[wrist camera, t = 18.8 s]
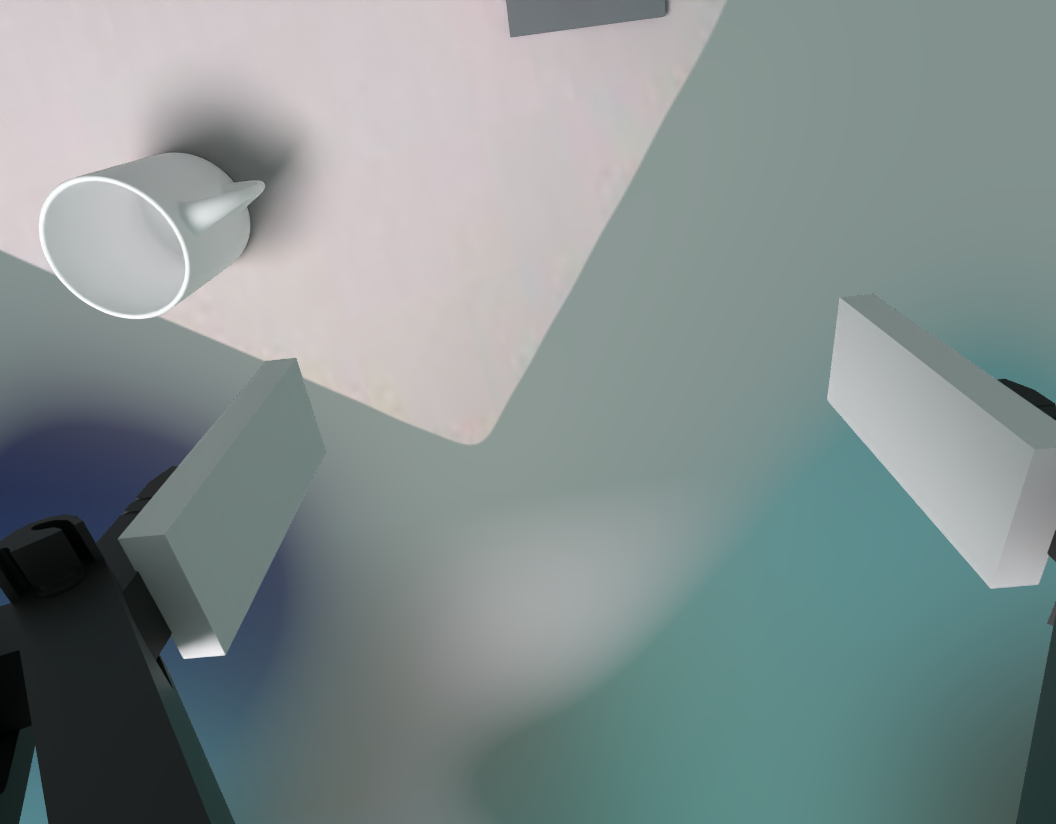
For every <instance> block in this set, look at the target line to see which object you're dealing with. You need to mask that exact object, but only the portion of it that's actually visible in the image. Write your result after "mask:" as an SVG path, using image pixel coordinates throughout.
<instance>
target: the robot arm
mask: <svg viewBox="0 0 1056 824" xmlns="http://www.w3.org/2000/svg"><path fill="white" fill-rule="evenodd" d="M827 400H828V401H829V403H830V404H831V405H832V406H833V407H834V409H836V411H837V412H838V413H839V414H840V415H841V417H842V418H843V419H844V420H845V421H846V422H847V424H848V425H849V426H850V427H851V428H852V429H853V430H854V432H855V433H856V434H857V435H858V436H859V437H860V438H861V440H862V441H863V442H864V443H865V444H866V445H867V447H869V449H870V450H871V451H872V452H873V453H874V455H875V456H876V457H877V458H878V459H879V460H880V462H881V463H882V464H883V465H884V466H885V467H886V468H887V470H888V471H889V472H890V473H891V474H892V475H893V477H894V478H895V479H896V480H897V481H898V482H899V483H900V485H901V486H902V487H903V488H904V489H905V490H906V491H907V493H908V494H909V495H910V496H911V497H912V498H913V500H914V501H915V502H916V503H917V504H918V505H919V506H920V508H921V509H922V510H923V511H924V512H925V513H926V515H927V516H928V517H929V518H930V519H931V520H932V521H933V523H934V524H935V525H936V526H937V527H938V528H939V529H940V531H941V532H942V533H943V534H944V535H945V536H946V538H948V540H949V541H950V542H951V543H952V545H953V546H954V547H955V548H956V549H957V550H958V551H959V553H960V554H961V555H962V556H963V557H964V558H965V560H966V561H967V562H968V563H969V564H970V565H971V566H972V568H973V569H974V570H975V571H976V572H977V573H978V574H979V576H980V577H981V578H982V579H983V580H984V581H985V582H986V584H987V585H988V586H989V587H990V588H1003V587H1015V586H1027V585H1038V584H1039V581H1040V579H1041V576H1042V573H1043V571H1044V568H1045V565H1046V562H1047V560H1048V557H1049V556H1050V557H1051V558H1052V559H1053V560H1055V561H1056V406H1055V403H1053V402H1052V401H1050V400H1049V399H1047V398H1046V397H1044V396H1043V395H1041V394H1040V393H1038V392H1037V391H1035V390H1033V389H1031V388H1028V387H1025V386H1023V385H1020V384H1017V383H1015V382H1012V381H1009V380H1007V379H999V380H997V379H995V378H994V377H992V376H991V375H989V374H988V373H986V372H985V371H983V370H982V369H981V368H979V367H978V366H976V365H975V364H974V363H972V362H971V361H969V360H968V359H966V358H965V357H963V356H962V355H961V354H959V353H958V352H956V351H955V350H953V349H952V348H951V347H949V346H948V345H946V344H945V343H943V342H942V341H940V340H939V339H938V338H936V337H935V336H933V335H931V334H930V333H929V332H928V331H926V330H925V329H923V328H922V327H920V326H919V325H917V324H916V323H915V322H913V321H912V320H910V319H909V318H907V317H906V316H904V315H903V314H902V313H900V312H899V311H897V310H896V309H894V308H893V307H892V306H890V305H888V304H887V303H886V302H884V301H883V300H881V299H880V298H879V297H877V296H876V295H874V294H866V295H857V296H849V297H840V300H839V308H838V316H837V324H836V332H835V341H834V349H833V357H832V365H831V373H830V381H829V389H828V397H827ZM325 453H326V450H325V446H324V443H323V440H322V437H321V434H320V431H319V428H318V425H317V421H316V418H315V415H314V412H313V409H312V406H311V403H310V400H309V397H308V393H307V391H306V387H305V384H304V381H303V378H302V375H301V372H300V368H299V365H298V362H297V359H296V358H290V359H281V360H272V361H266V362H265V363H264V364H263V365H262V366H261V368H260V369H259V370H258V371H257V372H256V374H255V375H254V376H253V377H252V378H251V380H250V381H249V382H248V383H247V385H246V386H245V387H244V388H243V389H242V390H241V392H240V393H239V394H238V395H237V396H236V398H235V399H234V400H233V401H232V402H231V404H230V405H229V406H228V407H227V408H226V410H225V411H224V412H223V413H222V414H221V416H220V417H219V418H218V419H217V421H216V422H215V423H214V424H213V425H212V426H211V428H210V429H209V430H208V431H207V432H206V434H205V435H204V436H203V437H202V438H201V440H200V441H199V442H198V443H197V444H196V446H195V447H194V448H193V449H192V450H191V452H190V453H189V454H188V455H187V456H186V458H185V459H184V460H183V461H182V462H181V464H180V465H179V466H173V467H170V468H169V469H168V470H166V471H165V472H163V473H162V474H160V475H159V476H157V477H156V478H155V479H153V480H152V481H150V482H149V483H148V484H147V486H146V487H145V488H144V489H143V490H142V491H141V492H140V494H139V495H138V496H137V497H136V498H135V502H132V503H131V504H130V505H129V506H128V507H127V508H126V510H125V511H124V515H122V516H119V518H118V519H117V520H116V521H115V522H114V524H113V525H112V526H111V527H110V528H109V529H108V530H107V531H106V533H105V534H104V535H103V536H102V537H101V538H100V540H99V541H98V542H97V543H95V541H94V540H93V538H92V536H91V535H90V533H89V531H88V529H87V527H86V526H85V524H84V522H83V521H82V520H81V519H80V518H79V517H78V516H72V515H60V516H53V517H48V518H45V519H43V520H39V521H36V522H33V523H30V524H29V525H26V526H24V527H22V528H21V529H19V530H16V531H14V532H13V533H11V534H10V535H8V536H7V537H5V538H4V539H3V540H1V541H0V588H1V589H2V590H3V592H4V593H5V595H6V596H7V597H8V599H9V600H10V602H11V603H10V604H7V605H3V606H0V824H19V821H20V816H21V811H22V806H23V802H24V797H25V791H26V787H27V782H28V777H29V772H30V768H31V763H32V758H33V753H34V748H35V746H36V751H37V757H38V764H39V770H40V775H41V782H42V787H43V793H44V799H45V805H46V811H47V817H48V823H49V824H235V822H234V820H233V817H232V815H231V813H230V811H229V808H228V806H227V804H226V801H225V799H224V797H223V795H222V792H221V790H220V788H219V785H218V783H217V781H216V779H215V776H214V774H213V772H212V769H211V767H210V765H209V762H208V760H207V758H206V756H205V753H204V751H203V749H202V747H201V744H200V742H199V739H198V737H197V735H196V733H195V730H194V728H193V726H192V724H191V721H190V719H189V717H188V714H187V712H186V710H185V707H184V705H183V703H182V701H181V698H180V696H179V694H178V691H177V689H176V687H175V684H174V682H173V680H172V678H171V675H170V673H169V671H168V668H167V666H166V665H165V663H164V661H163V659H162V658H161V656H160V652H161V651H162V649H163V647H164V645H165V644H166V643H167V641H168V639H169V638H170V636H172V638H173V640H174V642H175V644H176V645H177V647H178V649H179V651H180V653H181V655H182V656H183V658H184V659H186V658H197V657H209V656H221V655H226V653H227V651H228V649H229V647H230V645H231V643H232V641H233V639H234V637H235V635H236V633H237V631H238V629H239V627H240V625H241V623H242V621H243V619H244V617H245V615H246V613H247V611H248V609H249V607H250V605H251V602H252V600H253V599H254V596H255V595H256V592H257V590H258V588H259V586H260V584H261V582H262V580H263V578H264V576H265V574H266V572H267V570H268V568H269V566H270V564H271V562H272V560H273V558H274V556H275V554H276V552H277V550H278V548H279V546H280V544H281V542H282V540H283V538H284V536H285V534H286V532H287V530H288V528H289V526H290V524H291V522H292V520H293V518H294V516H295V514H296V511H297V510H298V508H299V505H300V504H301V501H302V499H303V498H304V495H305V493H306V491H307V489H308V487H309V485H310V483H311V481H312V479H313V477H314V475H315V473H316V471H317V469H318V467H319V465H320V463H321V461H322V459H323V457H324V455H325ZM1047 624H1050V625H1053V632H1052V637H1051V642H1050V647H1049V653H1048V657H1047V663H1046V668H1045V673H1044V679H1043V684H1042V689H1041V694H1040V700H1039V705H1038V710H1037V715H1036V720H1035V726H1034V731H1033V736H1032V742H1031V747H1030V753H1029V757H1028V763H1027V768H1026V773H1025V778H1024V784H1023V789H1022V794H1021V800H1020V805H1019V810H1018V815H1017V821H1016V824H1056V602H1055V605H1054V608H1053V610H1052V613H1051V615H1050V618H1049V620H1048V623H1047Z"/></svg>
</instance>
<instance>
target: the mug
mask: <svg viewBox="0 0 1056 824" xmlns="http://www.w3.org/2000/svg"><path fill="white" fill-rule="evenodd" d="M264 189H265V184H264V183H263V182H262V181H259V180H251V181H243V182H236V183H234V182H233V181H232V180H231V179H230V178H229V176H228V175H227V174H226V173H224V172H223V171H222V170H221V169H220V168H218V167H217V166H215V165H214V164H212V163H211V162H209V161H207V160H205V159H203V158H200V157H198V156H195V155H191V154H186V153H177V152H175V153H163V154H157V155H153V156H150V157H146V158H143V159H139V160H136V161H132V162H128V163H125V164H121V165H118V166H114V167H111V168H107V169H104V170H100V171H97V172H93V173H90V174H86V175H82V176H79V177H76V178H73V179H70V180H67V181H65V182H63V183H62V184H60V185H59V186H57V187H56V188H55V189H54V190H53V191H52V192H51V193H50V194H49V195H48V197H47V199H46V200H45V202H44V204H43V207H42V209H41V212H40V218H39V235H40V241H41V245H42V249H43V251H44V254H45V256H46V259H47V261H48V262H49V264H50V266H51V268H52V269H53V271H54V272H55V274H56V275H57V277H58V278H59V279H60V280H61V282H62V283H63V284H64V285H65V286H66V287H67V288H68V289H69V290H70V291H71V292H72V293H74V294H75V295H76V296H77V297H78V298H80V299H81V300H83V301H84V302H85V303H87V304H89V305H90V306H92V307H94V308H96V309H98V310H100V311H103V312H105V313H107V314H111V315H114V316H117V317H123V318H130V319H144V318H151V317H154V316H158V315H161V314H163V313H165V312H167V311H168V310H170V309H171V308H173V307H174V306H176V305H177V304H178V303H180V302H181V301H182V300H184V299H185V298H187V297H188V296H189V295H191V294H192V293H193V292H195V291H196V290H197V289H199V288H200V287H202V286H203V285H204V284H206V283H207V282H208V281H210V280H211V279H213V278H214V277H215V276H217V275H218V274H219V273H221V272H222V271H223V270H225V269H226V268H228V267H229V266H230V265H231V264H233V263H234V262H235V261H236V260H237V259H238V258H239V257H240V255H241V254H242V252H243V251H244V249H245V247H246V245H247V242H248V239H249V235H250V216H249V212H248V208H247V206H248V205H249V204H250V203H251V202H252V201H254V200H255V199H256V198H257V197H258V196H259V195H260V194H261V193H262V192H263V191H264Z"/></svg>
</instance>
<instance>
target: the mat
mask: <svg viewBox="0 0 1056 824" xmlns="http://www.w3.org/2000/svg"><path fill="white" fill-rule="evenodd" d="M506 2H507V11H508V20H509V28H510V37H517V36H524V35H531V34H539V33H546V32H554V31H561V30H568V29H576V28H583V27H590V26H598V25H605V24H613V23H620V22H627V21H635V20H642V19H649V18H657V17H664V16H665V0H506Z"/></svg>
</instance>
